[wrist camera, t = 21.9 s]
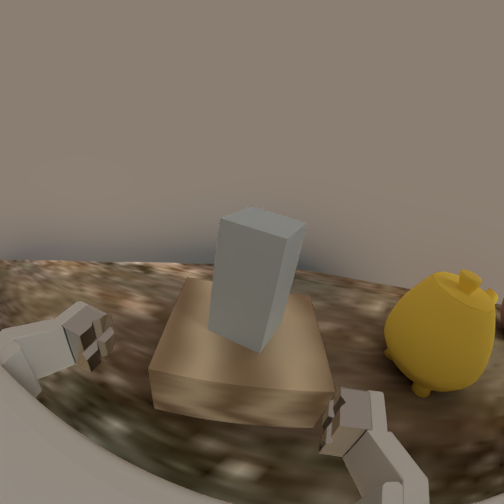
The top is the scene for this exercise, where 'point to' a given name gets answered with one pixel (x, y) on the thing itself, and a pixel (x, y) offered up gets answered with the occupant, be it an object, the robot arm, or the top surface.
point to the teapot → (442, 332)
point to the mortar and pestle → (502, 313)
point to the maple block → (241, 367)
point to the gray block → (253, 275)
